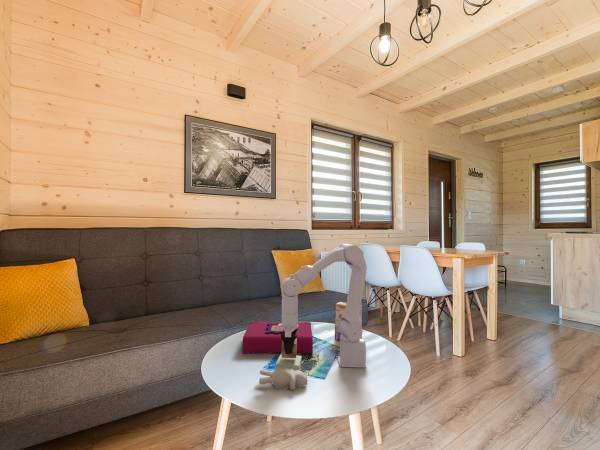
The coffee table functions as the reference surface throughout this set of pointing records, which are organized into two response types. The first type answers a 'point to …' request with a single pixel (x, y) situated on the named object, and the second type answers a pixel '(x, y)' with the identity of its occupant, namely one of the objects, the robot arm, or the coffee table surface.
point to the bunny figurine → (284, 378)
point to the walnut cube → (292, 351)
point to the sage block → (290, 362)
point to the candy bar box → (339, 311)
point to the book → (275, 338)
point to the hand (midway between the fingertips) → (289, 350)
